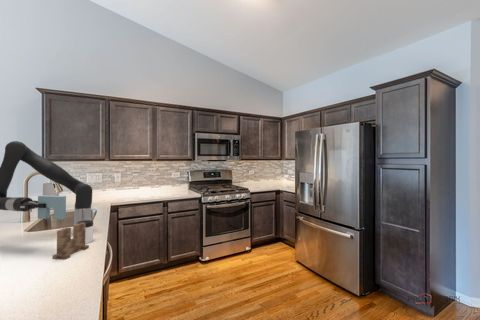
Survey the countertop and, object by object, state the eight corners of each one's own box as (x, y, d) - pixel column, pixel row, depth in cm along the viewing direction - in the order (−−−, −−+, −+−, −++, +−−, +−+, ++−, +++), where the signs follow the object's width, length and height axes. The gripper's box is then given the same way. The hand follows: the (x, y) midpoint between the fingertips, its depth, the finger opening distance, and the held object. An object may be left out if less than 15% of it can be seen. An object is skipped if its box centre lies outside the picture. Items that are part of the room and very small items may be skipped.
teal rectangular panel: (37, 218, 128) (37, 196, 128) (41, 217, 131) (42, 195, 131) (61, 219, 127) (62, 196, 127) (65, 218, 129) (66, 196, 129)
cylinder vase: (54, 210, 230) (55, 184, 230) (39, 210, 227) (40, 184, 227) (61, 207, 242) (61, 182, 242) (46, 207, 239) (47, 182, 239)
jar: (96, 239, 149) (96, 220, 149) (88, 244, 141) (88, 223, 141) (82, 239, 149) (82, 219, 149) (72, 243, 141) (73, 223, 141)
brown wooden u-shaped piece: (77, 247, 136) (77, 222, 136) (88, 247, 135) (89, 222, 135) (52, 258, 120) (52, 230, 120) (65, 259, 119) (65, 231, 119)
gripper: (5, 199, 124) (36, 200, 122) (31, 195, 138) (59, 196, 136) (5, 213, 124) (36, 215, 122) (31, 208, 138) (59, 209, 136)
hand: (48, 205), depth 129 cm, fingers closed on teal rectangular panel, 2 cm apart
